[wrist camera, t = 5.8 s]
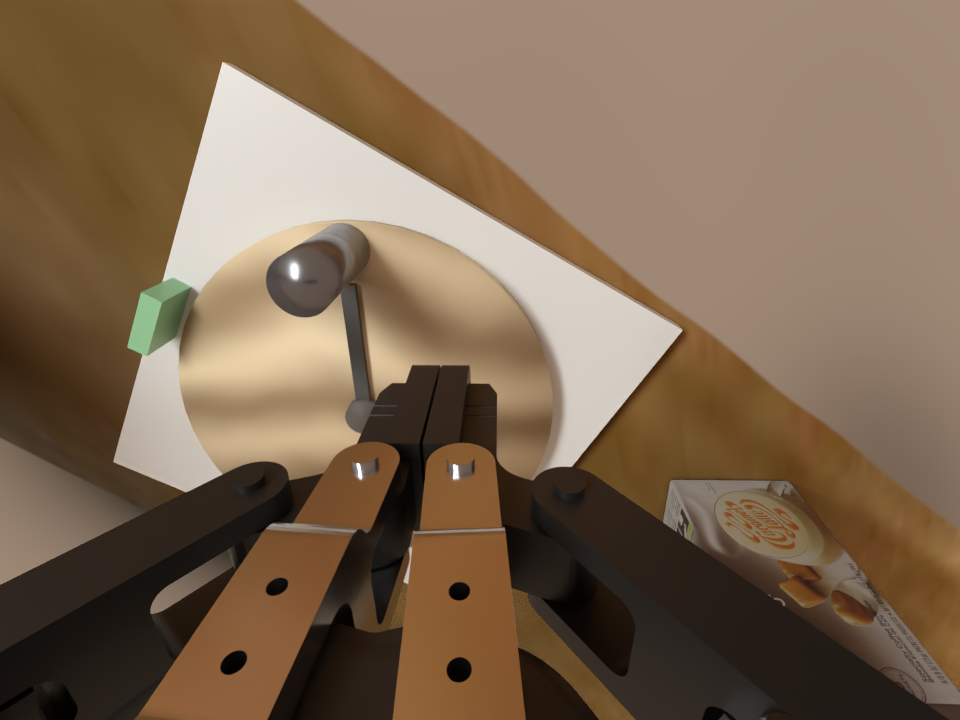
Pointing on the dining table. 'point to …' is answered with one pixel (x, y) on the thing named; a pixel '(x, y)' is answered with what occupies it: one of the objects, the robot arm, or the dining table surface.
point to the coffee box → (806, 575)
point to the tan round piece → (350, 344)
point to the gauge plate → (368, 197)
